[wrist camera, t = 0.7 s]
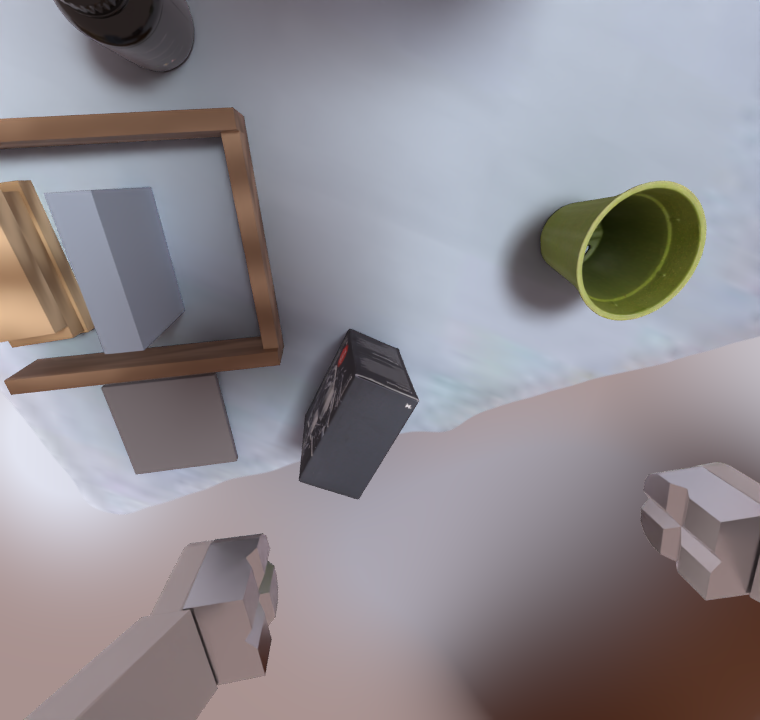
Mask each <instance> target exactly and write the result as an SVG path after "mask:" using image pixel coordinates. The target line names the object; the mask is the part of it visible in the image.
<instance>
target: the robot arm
mask: <svg viewBox="0 0 760 720" xmlns="http://www.w3.org/2000/svg"><path fill="white" fill-rule="evenodd" d="M643 490H644V492H645V493H646V494H647V496H648V497H649V499H648V500H647V501H646V503H645V504H644V505H643V506H642V508H641V524H642V527H643V530H644V533H645V535H646V537H647V539H648V540H649V542H650V543H651V545H652V546H653V547H654V548H655V549H656V550H657V551H658V552H659V553H660V554H661V555H663V556H666V557H668V558H670V559H672V560H674V561H676V565H677V572H678V573H679V574H680V575H681V576H682V577H683V578H684V579H685V580H686V581H687V582H688V583H689V584H690V585H691V586H692V587H693V588H694V589H695V590H696V591H697V592H698V593H699V594H700V595H701V596H702V597H703V598H704V599H705V600H712V599H719V598H726V597H733V596H740V595H748V594H750V597H751V598H753V599H755V600H756V601H758V602H760V484H759V483H757V482H756V481H754V480H753V479H751V478H749V477H748V476H746V475H744V474H743V473H741V472H739V471H738V470H736V469H734V468H732V467H731V466H730V465H727V464H724V463H720V462H715V463H709V464H704V465H698V466H694V467H690V468H683V469H677V470H672V471H665V472H659V473H652V474H649V475H648V476H647V478H646V479H645V482H644V489H643ZM269 551H270V547H269V543H268V540H267V537H266V535H264V534H263V533H262V534H255V535H247V536H239V537H231V538H224V539H216V540H214V541H213V540H211V541H204V542H196V543H190V544H189V545H187V546H186V547H185V548H184V549H183V551H182V553H181V555H180V557H179V559H178V561H177V563H176V565H175V567H174V569H173V571H172V573H171V575H170V577H169V579H168V581H167V583H166V585H165V587H164V589H163V591H162V593H161V595H160V597H159V599H158V601H157V603H156V605H155V607H154V609H153V611H152V613H151V615H150V616H146V617H141V618H140V619H139V620H138V621H137V622H136V623H134V624H133V625H132V626H131V627H130V628H129V629H128V630H126V631H125V632H124V633H123V634H122V635H121V636H119V637H118V638H117V639H116V640H115V641H114V642H113V643H111V644H110V645H109V646H108V647H107V648H106V649H104V650H103V651H102V652H101V653H100V654H99V655H98V656H96V657H95V658H94V659H93V660H92V661H91V662H90V663H88V664H87V665H86V666H85V667H84V668H83V669H81V670H80V671H79V672H78V673H77V674H76V675H74V676H73V677H72V678H71V679H70V680H69V681H68V682H66V683H65V684H64V685H63V686H62V687H61V688H60V689H58V690H57V691H56V692H55V693H54V694H53V695H51V696H50V697H49V698H48V699H47V700H46V701H45V702H43V703H42V704H41V705H40V706H39V707H38V708H36V709H35V710H34V711H33V712H32V713H31V714H30V715H28V716H27V717H26V718H25V719H24V720H196V719H197V718H198V716H199V715H200V713H201V712H202V710H203V709H204V708H205V706H206V704H207V703H208V702H209V700H210V699H211V697H212V696H213V695H214V693H215V692H216V690H217V689H218V688H217V685H221V684H226V683H231V682H236V681H241V680H246V679H251V678H256V677H261V676H265V673H266V668H267V663H268V657H269V651H270V646H271V640H272V639H271V635H270V631H269V627H268V626H269V624H270V623H271V622H272V621H273V620H274V618H275V617H276V611H277V604H278V583H277V575H276V571H275V567H274V565H272V564H271V563H270V562H269V561H268V556H269Z"/></svg>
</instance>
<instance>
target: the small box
mask: <svg viewBox="0 0 760 720" xmlns="http://www.w3.org/2000/svg"><path fill="white" fill-rule="evenodd" d="M418 402H419V399H418V396H417V395H416V392H415V390H414V388H413V385H412V383H411V381H410V378H409V376H408V373H407V370H406V368H405V365H404V362H403V360H402V357H401V355H400V352H399V349H398V348H394V347H392V346H389V345H387V344H385V343H382V342H380V341H378V340H375V339H373V338H371V337H369V336H366V335H364V334H362V333H359V332H357V331H355V330H352V329H349V330H348V332H347V334H346V336H345V338H344V340H343V342H342V344H341V346H340V348H339V350H338V352H337V354H336V356H335V358H334V360H333V362H332V364H331V366H330V368H329V370H328V372H327V374H326V376H325V378H324V380H323V382H322V384H321V386H320V388H319V390H318V392H317V394H316V396H315V398H314V400H313V402H312V404H311V406H310V408H309V410H308V412H307V414H306V416H305V423H304V433H303V444H302V454H301V465H300V476H299V481H300V482H303V483H306V484H309V485H312V486H316V487H319V488H322V489H325V490H328V491H332V492H335V493H338V494H341V495H345V496H348V497H351V498H354V499H359V498H360V496H361V495H362V493H363V491H364V490H365V488H366V487H367V485H368V483H369V482H370V480H371V479H372V477H373V475H374V474H375V472H376V470H377V469H378V467H379V465H380V464H381V462H382V461H383V459H384V457H385V456H386V454H387V452H388V451H389V449H390V447H391V446H392V444H393V443H394V441H395V439H396V438H397V436H398V435H399V433H400V431H401V430H402V428H403V426H404V425H405V423H406V422H407V420H408V418H409V417H410V415H411V413H412V412H413V410H414V409H415V407H416V405H417V404H418Z"/></svg>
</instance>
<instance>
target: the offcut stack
mask: <svg viewBox="0 0 760 720" xmlns="http://www.w3.org/2000/svg"><path fill="white" fill-rule="evenodd" d="M94 328H95V327H94V324H93V322H92V319H91V316H90V314H89V311H88V308H87V306H86V303H85V301H84V298H83V295H82V293H81V290H80V287H79V285H78V283H77V281H76V278H75V276H74V274H73V272H72V270H71V267H70V265H69V263H68V261H67V259H66V256H65V254H64V252H63V250H62V248H61V246H60V243H59V241H58V239H57V237H56V235H55V232H54V230H53V228H52V226H51V224H50V221H49V219H48V217H47V215H46V213H45V210H44V208H43V206H42V204H41V202H40V200H39V197H38V195H37V193H36V191H35V189H34V186H33V184H32V182H31V180H26V181H11V182H3V183H0V342H5V341H9V343H10V344H11V346H12V348H13V347H19V346H25V345H32V344H38V343H44V342H50V341H56V340H62V339H69V338H74V337H75V336H77V335H78V334H80V333H85V332H89V331H91V330H92V329H94Z"/></svg>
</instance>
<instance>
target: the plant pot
mask: <svg viewBox="0 0 760 720" xmlns="http://www.w3.org/2000/svg"><path fill="white" fill-rule="evenodd" d="M596 227H597V228H596ZM705 240H706V219H705V215H704V211H703V208H702V206H701V204H700V202H699V200H698V199H697V197H696V196H695V195H694V194H693V193H692V192H691V191H690V190H689V189H687V188H686V187H684V186H682V185H680V184H677V183H675V182H670V181H655V182H648V183H645V184H641V185H638V186H636V187H633V188H631V189H629V190H627V191H626V192H624V193H622V194H619V195H617V196H614V197H608V198H602V199H595V200H589V201H583V202H576V203H572V204H568V205H566V206H563V207H562V208H560V209H559V210H557V211H556V212H555V213H554V214H553V215H552V216H551V217H550V218H549V219H548V221H547V222H546V224H545V226H544V228H543V230H542V233H541V237H540V241H541V254H542V257H543V259H544V260H545V261H546V263H547V264H548V265H550V266H551V267H552V268H553V269H554V270H556V271H557V272H558V273H559V274H561V275H562V276H563V277H564V278H565V279H567V280H568V281H569V282H570V283H572V284H573V285H574V286H575V287H576V289H577V290H578V291H579V293H580V295H581V298H582V299H583V301H584V302H585V304H586V305H587V306H588V307H589V308H590V309H591V310H592V311H593V312H595V313H596V314H598V315H599V316H602V317H604V318H607V319H611V320H631V319H636V318H639V317H642V316H645V315H647V314H650V313H652V312H654V311H656V310H657V309H659V308H660V307H662V306H663V305H665V304H666V303H667V302H668V301H670V300H671V299H672V298H673V297H674V296H676V295H677V294H678V293H679V292H680V290H681V289H682V288H683V287H684V286H685V285H686V283H687V282H688V281H689V279H690V278H691V276H692V275H693V273H694V271H695V269H696V267H697V265H698V263H699V261H700V258H701V256H702V253H703V248H704V245H705ZM588 245H590V249H589V250H588V252H587V253H586V254H585V250H586V247H587V246H588ZM584 254H585V255H584Z"/></svg>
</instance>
